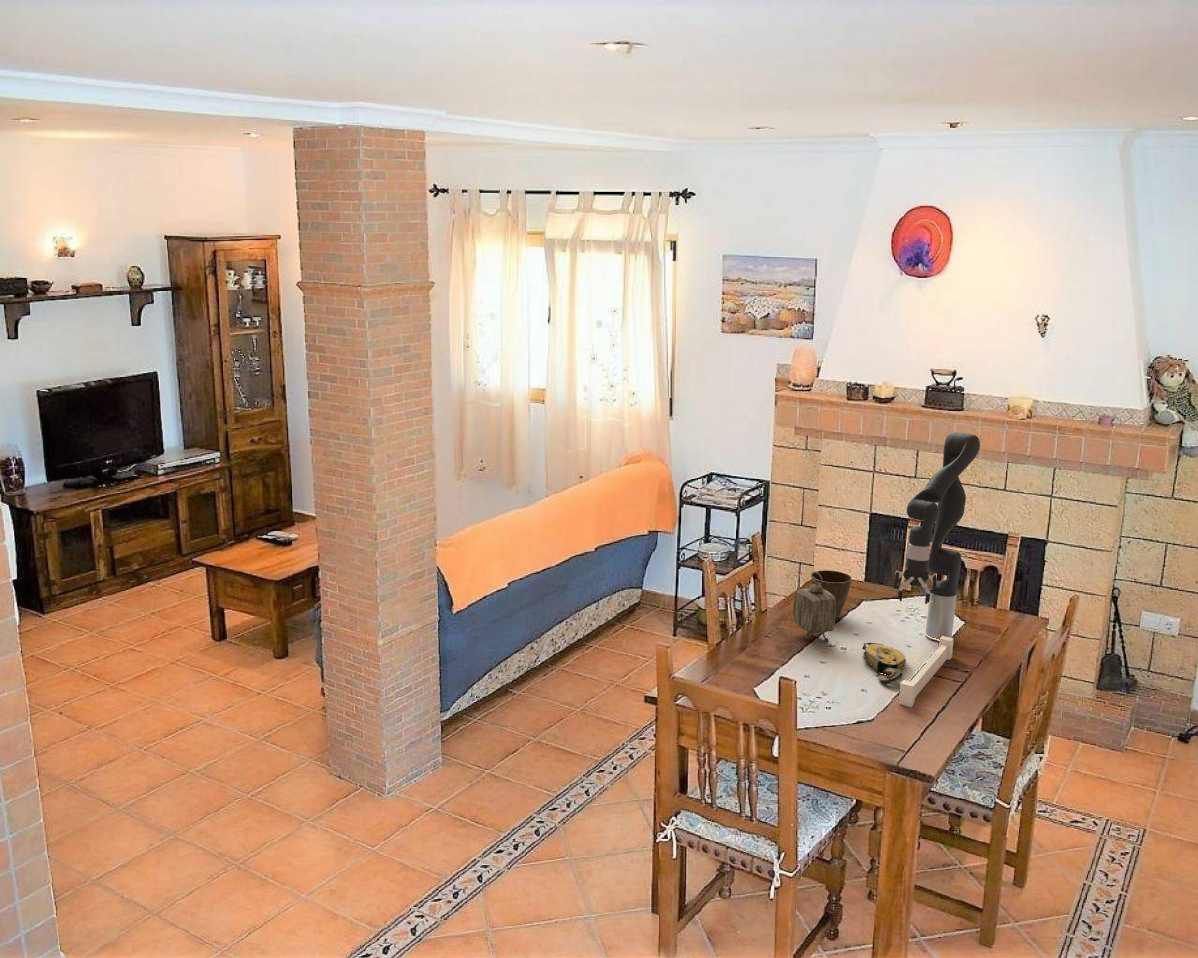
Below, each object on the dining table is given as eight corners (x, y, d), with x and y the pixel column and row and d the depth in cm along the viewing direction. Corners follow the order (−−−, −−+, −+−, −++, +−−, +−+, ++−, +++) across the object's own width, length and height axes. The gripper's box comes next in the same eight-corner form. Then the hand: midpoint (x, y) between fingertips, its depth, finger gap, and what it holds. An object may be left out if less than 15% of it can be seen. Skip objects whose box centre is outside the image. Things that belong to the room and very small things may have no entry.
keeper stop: (940, 654, 383) (942, 635, 382) (951, 657, 381) (953, 638, 380) (898, 703, 344) (900, 683, 342) (911, 707, 342) (913, 686, 340)
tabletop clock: (833, 643, 391) (838, 577, 385) (811, 646, 387) (816, 580, 381) (811, 629, 404) (816, 565, 398) (790, 632, 400) (794, 567, 394)
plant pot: (801, 610, 422) (804, 571, 418) (835, 607, 427) (839, 568, 423) (820, 624, 408) (823, 584, 405) (855, 621, 413) (859, 581, 409)
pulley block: (871, 668, 355) (863, 634, 383) (866, 684, 356) (859, 649, 385) (914, 678, 353) (903, 643, 382) (910, 694, 355) (899, 658, 383)
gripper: (938, 556, 380) (933, 601, 383) (896, 552, 383) (891, 596, 386) (939, 561, 373) (934, 607, 376) (896, 557, 376) (892, 602, 379)
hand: (913, 602), depth 381 cm, fingers open, 8 cm apart
